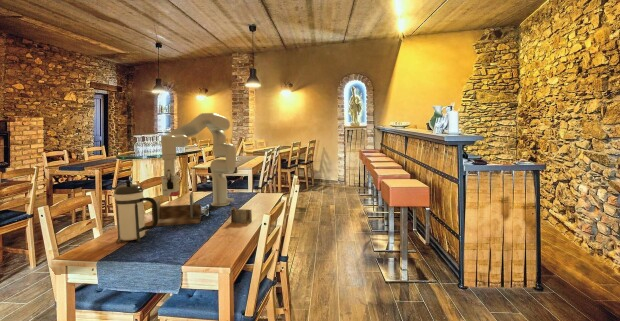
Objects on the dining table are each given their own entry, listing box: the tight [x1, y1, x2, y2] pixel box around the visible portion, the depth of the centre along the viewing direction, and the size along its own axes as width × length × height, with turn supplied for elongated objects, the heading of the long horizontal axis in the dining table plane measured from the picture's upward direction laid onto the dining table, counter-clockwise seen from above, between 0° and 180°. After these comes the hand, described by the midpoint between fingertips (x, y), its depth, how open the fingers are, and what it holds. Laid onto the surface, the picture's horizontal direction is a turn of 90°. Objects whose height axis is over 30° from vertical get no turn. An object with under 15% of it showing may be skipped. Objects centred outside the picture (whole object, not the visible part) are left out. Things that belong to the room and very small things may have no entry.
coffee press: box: [111, 179, 158, 244], centre depth 175 cm, size 17×16×30 cm
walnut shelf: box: [151, 198, 202, 227], centre depth 208 cm, size 25×16×12 cm, turn 104°
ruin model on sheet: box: [230, 206, 253, 224], centre depth 204 cm, size 11×3×10 cm, turn 83°
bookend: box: [189, 191, 202, 219], centre depth 210 cm, size 5×9×14 cm, turn 14°
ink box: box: [160, 174, 181, 197], centre depth 205 cm, size 9×5×12 cm, turn 86°
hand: (171, 187), depth 206 cm, fingers closed on ink box, 6 cm apart
